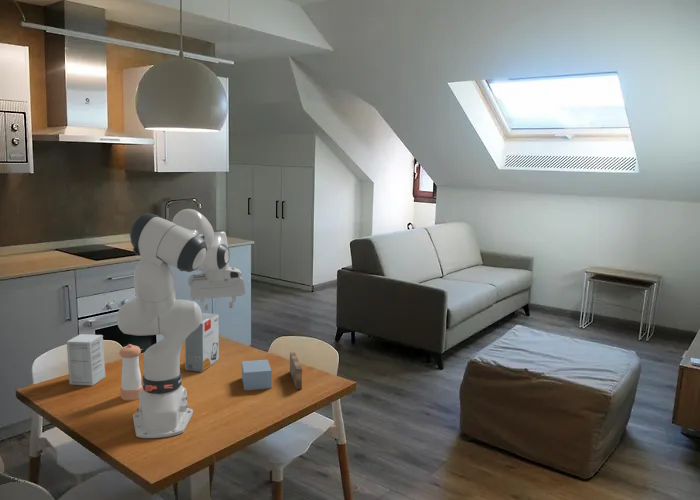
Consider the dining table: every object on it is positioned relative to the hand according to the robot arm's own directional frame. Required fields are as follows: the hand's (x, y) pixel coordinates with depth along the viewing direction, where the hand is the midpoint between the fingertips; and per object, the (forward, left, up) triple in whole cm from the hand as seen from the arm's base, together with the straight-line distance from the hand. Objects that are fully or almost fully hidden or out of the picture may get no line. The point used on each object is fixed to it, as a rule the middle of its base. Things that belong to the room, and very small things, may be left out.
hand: (218, 308), depth 211 cm
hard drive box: (+18, +7, -29) cm, 34 cm away
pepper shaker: (-9, +31, -29) cm, 43 cm away
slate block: (-5, -13, -29) cm, 32 cm away
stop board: (-5, -28, -28) cm, 40 cm away
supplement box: (+9, +49, -29) cm, 57 cm away
